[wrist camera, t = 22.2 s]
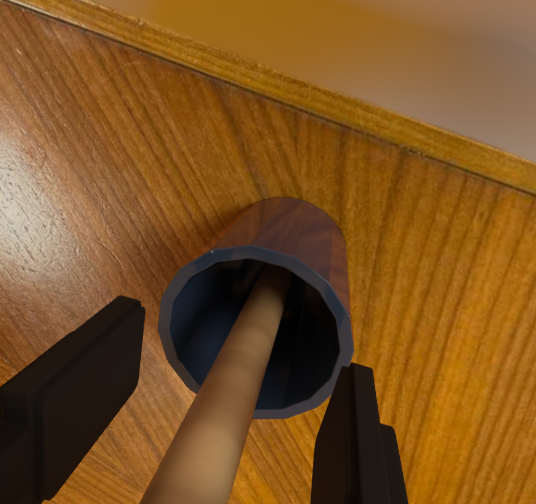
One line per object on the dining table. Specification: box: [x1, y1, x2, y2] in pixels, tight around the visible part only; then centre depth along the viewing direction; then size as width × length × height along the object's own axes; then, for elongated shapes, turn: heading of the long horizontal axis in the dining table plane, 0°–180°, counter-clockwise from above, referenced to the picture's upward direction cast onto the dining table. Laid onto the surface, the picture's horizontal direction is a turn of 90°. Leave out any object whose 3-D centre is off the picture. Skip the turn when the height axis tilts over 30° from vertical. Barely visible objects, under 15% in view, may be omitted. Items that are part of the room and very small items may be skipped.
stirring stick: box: [139, 263, 291, 504], centre depth 14 cm, size 3×2×16 cm, turn 163°
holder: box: [158, 197, 354, 419], centre depth 18 cm, size 7×7×9 cm
